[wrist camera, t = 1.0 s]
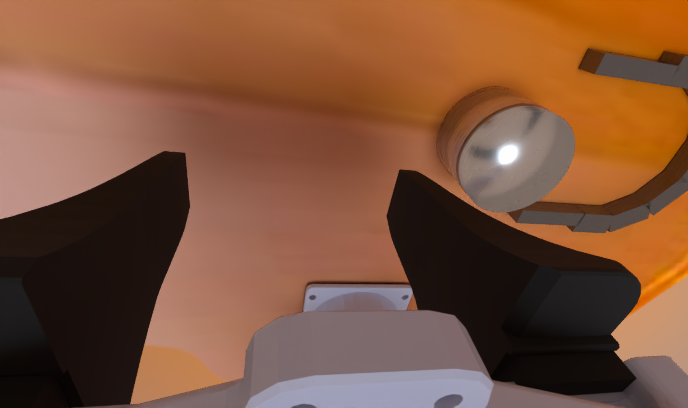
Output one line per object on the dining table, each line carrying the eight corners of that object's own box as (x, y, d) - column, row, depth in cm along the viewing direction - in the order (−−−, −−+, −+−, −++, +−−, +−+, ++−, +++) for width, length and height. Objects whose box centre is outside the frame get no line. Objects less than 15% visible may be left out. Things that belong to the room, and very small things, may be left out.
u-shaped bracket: (640, 225, 27) (654, 235, 26) (504, 218, 24) (513, 229, 23) (760, 68, 21) (783, 73, 20) (593, 38, 18) (611, 42, 17)
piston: (504, 178, 23) (542, 214, 19) (424, 172, 22) (450, 209, 18) (544, 92, 20) (597, 118, 16) (454, 79, 19) (491, 104, 15)
